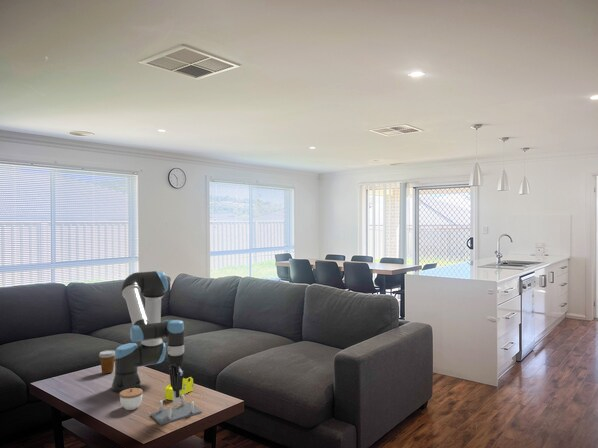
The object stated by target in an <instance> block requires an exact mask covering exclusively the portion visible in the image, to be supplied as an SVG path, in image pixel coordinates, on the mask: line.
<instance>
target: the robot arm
mask: <svg viewBox="0 0 598 448" xmlns="http://www.w3.org/2000/svg"><path fill="white" fill-rule="evenodd" d="M168 290H169V282H168V278H167V275H166V273H165V271H162V270H158V271H156V270H155V271H154V270H153V271H140V272H139V271H138V272H133V273H131V274H128V276H127V277H126V278H124V281H123V282H122V285H121V289H120V291H121V295H122V298H124V299H125V302H126V305H127V309H128V313H129V318H130V320H131V326H130V328H129V338H130V341H131V342H129V343H125V344H121V345H119V346H117V347H116V348H115V350H114V351H115V359H114V377H113V381H112V383H111V391H112V392H115V393H120V392H121V391H123V390H126V389H130V388H140V389H141V387H142V380H141V378H140V376H139V373H138V368H139V367H146V366H152V365H157V364H161V363H163V362H164V360H165V358H166V353H167V363H168V364H170V365H168V371H169V372H168V374H169V381H170V383H169V384H171V387H172V389H173V400H172V403H173V405H174V406H175V405H178V404H181V397H180V390H182V383H183V378H184V374H185V371H184V370H182V363H184V362H185V354H184V353H185V324H184V323H185V322H184V321H183V320H182V319H181V320H180V319H174V320H173V319H172V320H170V319H166V320H163V321H162V322H161V320H162V317H161V316H162V298H163V297H165V293H166V292H167V291H168ZM141 295H142V296H141ZM142 297H143V298H144V301H145V302H144V301H143V299H142ZM166 338H167V346H166V343H165V342H164V341H163V339H166ZM136 342H140V345H138V344H137V343H136ZM166 347H167V348H166Z"/></svg>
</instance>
